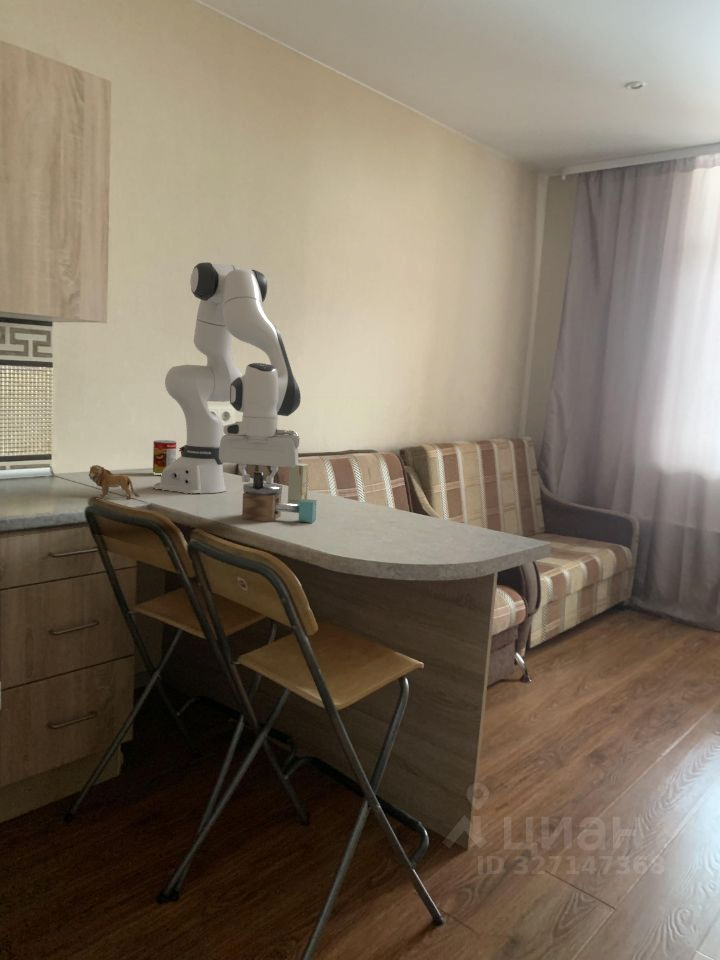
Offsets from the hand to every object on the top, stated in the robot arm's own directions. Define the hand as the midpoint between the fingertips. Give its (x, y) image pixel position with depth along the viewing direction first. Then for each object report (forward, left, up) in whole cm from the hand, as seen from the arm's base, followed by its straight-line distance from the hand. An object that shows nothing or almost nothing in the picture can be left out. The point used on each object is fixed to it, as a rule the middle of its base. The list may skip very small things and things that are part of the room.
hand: (257, 482), depth 185 cm
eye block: (0, +4, -10) cm, 11 cm away
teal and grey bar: (+5, +4, -10) cm, 12 cm away
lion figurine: (-48, +15, -10) cm, 52 cm away
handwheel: (0, +4, -3) cm, 5 cm away
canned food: (-55, +65, -10) cm, 86 cm away
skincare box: (+4, +26, -10) cm, 29 cm away
